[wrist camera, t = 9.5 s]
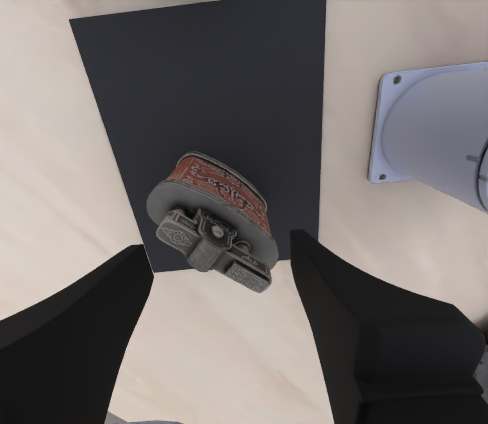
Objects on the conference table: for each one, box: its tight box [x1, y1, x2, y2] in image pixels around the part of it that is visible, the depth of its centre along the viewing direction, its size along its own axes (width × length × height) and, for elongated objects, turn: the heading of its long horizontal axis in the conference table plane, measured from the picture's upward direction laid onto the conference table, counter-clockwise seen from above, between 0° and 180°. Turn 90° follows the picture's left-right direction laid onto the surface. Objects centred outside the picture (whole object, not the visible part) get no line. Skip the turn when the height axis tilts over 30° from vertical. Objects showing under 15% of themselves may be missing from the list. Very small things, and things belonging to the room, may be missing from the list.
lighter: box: [146, 151, 279, 293], centre depth 16 cm, size 8×3×10 cm, turn 54°
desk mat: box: [69, 0, 326, 273], centre depth 20 cm, size 16×20×1 cm
